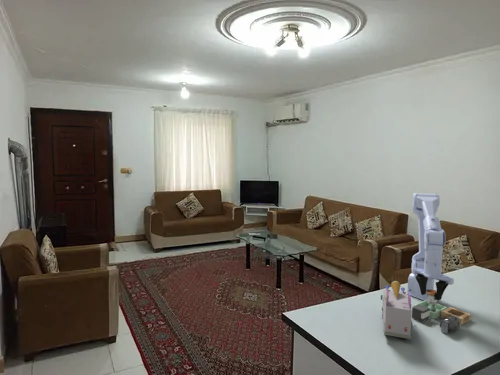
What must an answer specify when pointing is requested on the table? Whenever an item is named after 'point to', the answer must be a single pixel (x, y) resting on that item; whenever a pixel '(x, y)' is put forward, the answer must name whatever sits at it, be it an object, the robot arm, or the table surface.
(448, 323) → the trolley wheel
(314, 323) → the table surface
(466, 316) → the socket block
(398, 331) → the toy vehicle
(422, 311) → the block
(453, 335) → the table surface
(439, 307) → the tray
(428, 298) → the pin
